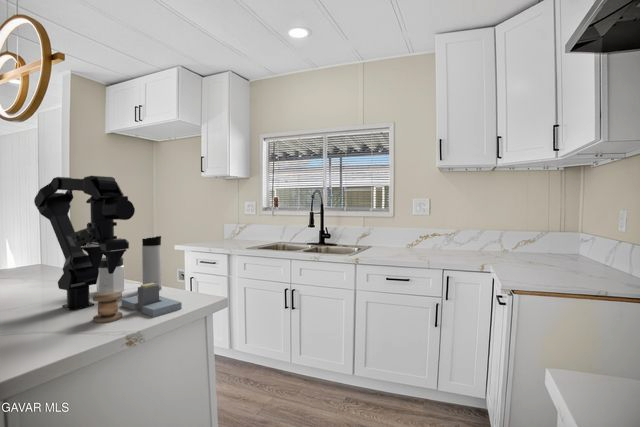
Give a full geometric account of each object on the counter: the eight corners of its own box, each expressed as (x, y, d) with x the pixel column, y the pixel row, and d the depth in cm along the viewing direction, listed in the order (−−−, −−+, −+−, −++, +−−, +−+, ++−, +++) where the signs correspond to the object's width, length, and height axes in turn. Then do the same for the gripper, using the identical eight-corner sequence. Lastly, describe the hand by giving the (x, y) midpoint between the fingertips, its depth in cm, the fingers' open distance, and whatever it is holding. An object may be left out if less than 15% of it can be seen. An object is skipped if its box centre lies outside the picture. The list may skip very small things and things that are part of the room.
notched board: (121, 305, 108) (121, 299, 108) (149, 298, 115) (149, 292, 115) (153, 316, 98) (153, 309, 98) (181, 308, 105) (181, 302, 105)
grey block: (137, 310, 104) (137, 285, 103) (153, 305, 108) (153, 282, 108) (143, 312, 102) (143, 286, 102) (159, 307, 106) (159, 283, 106)
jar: (91, 295, 119) (91, 261, 118) (101, 289, 127) (100, 257, 126) (120, 294, 121) (119, 260, 120) (127, 288, 129) (127, 256, 128)
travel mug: (154, 292, 123) (154, 237, 122) (138, 291, 124) (138, 236, 123) (166, 288, 129) (165, 235, 128) (150, 287, 130) (149, 234, 130)
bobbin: (88, 319, 95) (88, 295, 95) (115, 312, 101) (114, 290, 101) (100, 324, 91) (100, 300, 91) (127, 317, 97) (127, 294, 97)
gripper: (56, 219, 99) (58, 272, 100) (85, 221, 89) (86, 281, 89) (98, 217, 108) (99, 266, 109) (129, 219, 98) (130, 273, 99)
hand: (103, 271), depth 101 cm, fingers open, 9 cm apart
